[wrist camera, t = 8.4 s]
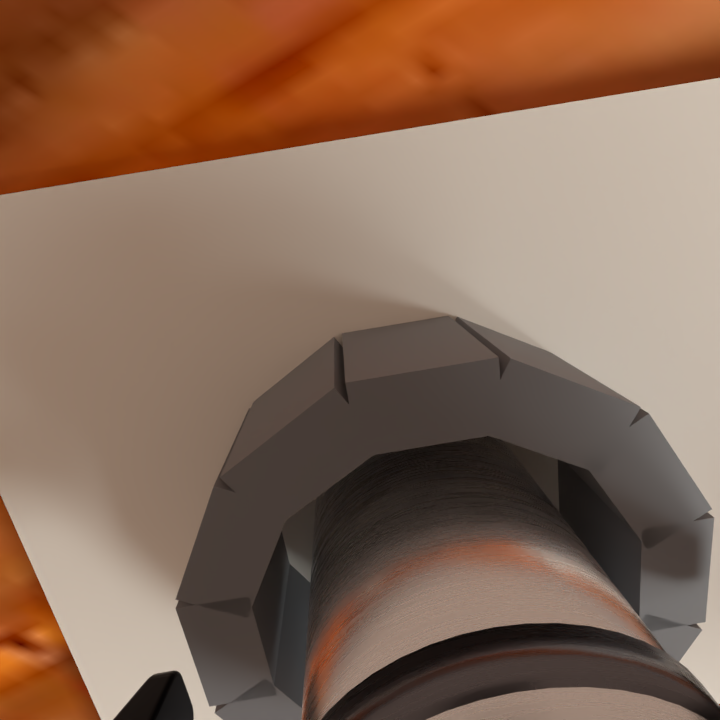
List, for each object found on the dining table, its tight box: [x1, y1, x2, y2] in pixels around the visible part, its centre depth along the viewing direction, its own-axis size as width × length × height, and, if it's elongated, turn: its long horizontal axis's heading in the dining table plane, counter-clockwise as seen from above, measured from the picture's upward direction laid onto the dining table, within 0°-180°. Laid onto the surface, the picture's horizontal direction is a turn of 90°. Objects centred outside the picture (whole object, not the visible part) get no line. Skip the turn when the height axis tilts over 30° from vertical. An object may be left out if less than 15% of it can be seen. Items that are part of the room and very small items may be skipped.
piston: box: [301, 436, 720, 720], centre depth 7 cm, size 5×5×7 cm
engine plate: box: [0, 78, 720, 720], centre depth 10 cm, size 22×16×4 cm
